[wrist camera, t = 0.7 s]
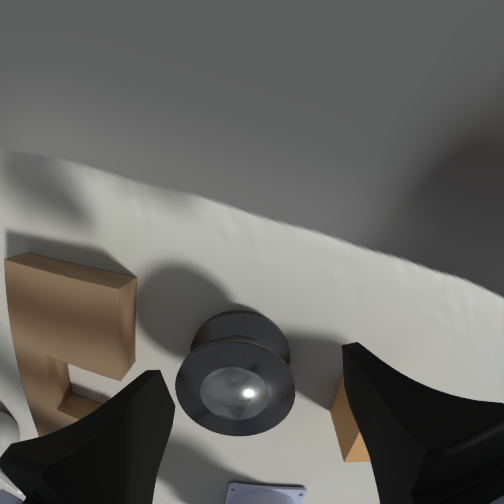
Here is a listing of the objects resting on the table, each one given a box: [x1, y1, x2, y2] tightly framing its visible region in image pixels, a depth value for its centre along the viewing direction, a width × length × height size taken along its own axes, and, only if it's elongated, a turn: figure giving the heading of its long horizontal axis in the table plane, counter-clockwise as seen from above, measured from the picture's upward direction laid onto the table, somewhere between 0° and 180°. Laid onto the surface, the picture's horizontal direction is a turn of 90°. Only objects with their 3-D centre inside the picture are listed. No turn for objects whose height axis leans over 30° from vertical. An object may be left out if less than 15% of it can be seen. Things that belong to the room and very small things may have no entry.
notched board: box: [4, 253, 137, 437], centre depth 21 cm, size 20×11×3 cm, turn 171°
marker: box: [0, 470, 23, 494], centre depth 28 cm, size 3×2×16 cm
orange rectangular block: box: [330, 374, 370, 462], centre depth 19 cm, size 4×4×6 cm
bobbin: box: [175, 310, 295, 436], centre depth 19 cm, size 7×7×5 cm
